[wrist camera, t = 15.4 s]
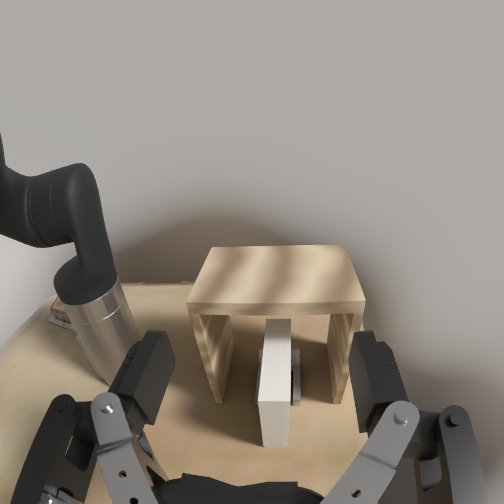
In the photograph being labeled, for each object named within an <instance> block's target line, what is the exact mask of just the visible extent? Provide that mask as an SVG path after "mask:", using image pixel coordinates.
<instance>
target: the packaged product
mask: <svg viewBox="0 0 504 504" xmlns="http://www.w3.org/2000/svg"><path fill="white" fill-rule="evenodd" d="M51 313H52V315H51V316H50V318H49V319H47V320H48V321H49V322H51V323H53V324H57V325H59V326H62V327H65V328H67V329H70V330H72V331H75V329H74V327H73V325H72V323H71V321H70V319H69V318H68V316H67V314H66V312H65V309H64V307H63V305H62V303H61V301H60V299H59V297H58V296H57V298H56V300H55V302H54V303H53V304H52V306H51ZM75 332H76V331H75Z"/></svg>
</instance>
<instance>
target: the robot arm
mask: <svg viewBox="0 0 504 504" xmlns="http://www.w3.org/2000/svg"><path fill="white" fill-rule="evenodd" d="M0 234H1V235H4V236H7V237H9V238H12V239H14V240H17V241H19V242H22V243H24V244H27V245H30V246H33V247H37V248H47V247H53V246H57V245H61V244H66V243H71V242H74V244H75V247H76V252H77V255H76V256H75V257H74V258H72V259H71V260H69V261H68V262H66V263H65V264H64V265H63V266H62V267H61V268H60V269H59V270H58V272H57V273H56V275H55V277H54V287H55V290H56V292H57V294H58V297H59V299H60V301H61V303H62V305H63V307H64V309H65V312H66V314H67V316H68V318H69V319H70V321H71V323H72V325H73V327H74V329H75V331H76V333H77V337H76V339H77V341H78V343H79V345H80V347H81V348H82V350H83V352H84V353H85V355H86V357H87V358H88V360H89V362H90V363H91V365H92V366H93V368H94V370H95V371H96V373H97V374H98V376H99V377H100V378H102V379H104V380H105V381H106V383H107V384H108V385H109V386H110V388H109V390H108V392H106V393H102V394H99V395H98V396H96V397H95V398H94V399H93V401H86V402H76V401H75V400H74V399H73V398H72V397H71V396H70V395H67V394H62V395H59V396H57V397H56V398H54V399H53V401H52V402H51V404H50V406H49V408H48V410H47V412H46V414H45V417H44V419H43V421H42V423H41V425H40V427H39V429H38V432H37V434H36V436H35V438H34V441H33V443H32V445H31V448H30V450H29V453H28V455H27V458H26V460H25V463H24V465H23V468H22V470H21V473H20V476H19V479H18V481H17V484H16V487H15V490H14V493H13V496H12V499H11V503H10V504H84V502H85V498H86V495H87V491H88V488H89V484H90V481H91V477H92V474H93V471H94V468H95V464H96V461H97V458H98V462H99V465H100V468H101V471H102V474H103V477H104V480H105V483H106V486H107V488H108V491H109V494H110V496H111V499H112V501H113V504H376V502H377V501H378V500H379V498H380V496H381V495H382V493H383V492H384V490H385V489H386V487H387V486H388V484H389V482H390V480H391V479H392V477H393V475H394V474H395V471H396V466H397V464H398V462H399V460H400V458H413V460H414V468H415V477H416V487H417V499H418V504H488V501H487V494H486V487H485V481H484V475H483V471H482V465H481V460H480V456H479V452H478V447H477V444H476V440H475V436H474V432H473V429H472V425H471V421H470V418H469V415H468V413H467V412H466V410H465V409H463V408H462V407H460V406H456V405H453V406H449V407H447V408H445V409H444V410H443V411H442V412H441V413H436V412H424V411H420V410H418V409H417V408H416V407H415V406H414V405H413V404H412V403H410V402H409V401H408V398H407V395H406V392H405V389H404V386H403V382H402V379H401V376H400V373H399V370H398V367H397V364H396V362H395V358H394V355H393V352H392V350H391V349H390V347H389V346H388V345H387V344H386V343H385V342H376V339H375V336H374V333H373V331H372V330H370V331H358V332H354V335H353V340H352V344H351V349H350V353H349V360H348V365H349V373H350V378H351V383H352V389H353V395H354V401H355V407H356V413H357V419H358V426H359V433H364V432H367V433H368V440H367V442H366V443H365V445H364V446H363V448H362V449H361V451H360V452H359V453H358V455H357V456H356V458H355V459H354V460H353V462H352V463H351V465H350V466H349V467H348V469H347V470H346V472H345V473H344V474H343V476H342V477H341V478H340V479H339V481H338V482H337V483H336V485H335V486H334V487H333V488H332V490H331V491H330V492H329V493H328V494H327V496H326V497H323V496H322V495H320V494H319V493H317V492H315V491H312V490H310V489H307V488H303V487H298V482H264V483H259V484H253V485H246V486H234V485H230V484H227V483H224V482H221V481H219V480H216V479H213V478H210V477H204V476H198V475H191V474H186V473H182V477H181V478H178V479H172V480H169V479H168V477H167V475H166V474H165V472H164V471H163V469H162V468H161V467H160V465H159V463H158V461H157V459H156V457H155V455H154V453H153V451H152V449H151V446H150V444H149V442H148V440H147V437H146V435H145V432H144V431H143V428H144V425H145V424H149V425H154V423H155V420H156V417H157V414H158V411H159V408H160V405H161V403H162V400H163V397H164V394H165V391H166V388H167V385H168V383H169V380H170V377H171V374H172V371H173V369H174V365H175V356H174V353H173V350H172V347H171V345H170V342H169V339H168V336H167V334H166V332H164V331H152V330H148V331H147V332H146V334H145V336H144V338H143V340H142V338H141V336H140V334H139V331H138V329H137V326H136V324H135V321H134V319H133V316H132V314H131V311H130V309H129V306H128V303H127V301H126V298H125V295H124V292H123V290H122V287H121V284H120V281H119V278H118V275H117V272H116V270H115V267H114V262H113V257H112V252H111V248H110V244H109V240H108V236H107V232H106V228H105V223H104V218H103V213H102V207H101V201H100V196H99V191H98V187H97V184H96V180H95V178H94V175H93V173H92V172H91V170H90V168H89V167H88V166H87V165H85V164H83V163H77V164H73V165H69V166H66V167H62V168H59V169H56V170H53V171H50V172H47V173H44V174H41V175H38V176H31V177H29V176H24V175H21V174H19V173H17V172H15V171H13V170H12V169H10V168H8V167H7V166H6V165H5V159H4V151H3V144H2V139H1V135H0ZM72 436H73V438H72V440H71V443H70V445H69V448H68V451H67V453H66V450H67V447H68V444H69V442H70V439H71V437H72ZM65 453H66V456H65Z"/></svg>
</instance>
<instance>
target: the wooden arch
mask: <svg viewBox="0 0 504 504" xmlns="http://www.w3.org/2000/svg"><path fill="white" fill-rule="evenodd" d="M365 301H366V300H365V297H364V294H363V292H362V289H361V286H360V284H359V281H358V278H357V276H356V273H355V271H354V268H353V265H352V263H351V260H350V258H349V255H348V253H347V250H346V248H345V246H344V245H299V246H255V247H254V246H253V247H213V248H211V250H210V253H209V255H208V257H207V259H206V261H205V263H204V265H203V267H202V270H201V271H200V273H199V276H198V278H197V280H196V282H195V284H194V286H193V288H192V291H191V293H190V295H189V297H188V299H187V301H186V304H187V308H188V312H189V315H190V319H191V323H192V327H193V330H194V334H195V337H196V341H197V344H198V348H199V351H200V355H201V358H202V362H203V365H204V368H205V371H206V375H207V378H208V381H209V384H210V387H211V390H212V393H213V396H214V399H215V402H216V403H223V399H224V394H225V389H226V384H227V379H228V374H229V369H230V364H231V359H232V354H233V350H234V340H233V334H232V328H231V322H230V316H229V315H318V314H331V315H330V323H329V331H328V338H327V352H328V360H329V368H330V377H331V386H332V395H333V404H340V403H341V400H342V397H343V393H344V390H345V386H346V383H347V379H348V376H349V365H348V360H349V353H350V349H351V344H352V340H353V335H354V332H358V331H360V326H361V322H362V317H363V312H364V307H365ZM262 357H263V349H260V351H259V366H258V375H257V383H256V392H255V405H258V396H259V386H260V377H261V367H262ZM299 364H300V349H291V371H293V406H300V403H301V383H300V365H299Z"/></svg>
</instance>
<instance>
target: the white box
mask: <svg viewBox="0 0 504 504" xmlns="http://www.w3.org/2000/svg"><path fill="white" fill-rule="evenodd" d="M290 396H291V319H266V326H265V336H264V347H263V357H262V367H261V377H260V386H259V396H258V406H259V414H260V422H261V430H262V438H263V446H264V447H277V448H288V435H289V418H290Z"/></svg>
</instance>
